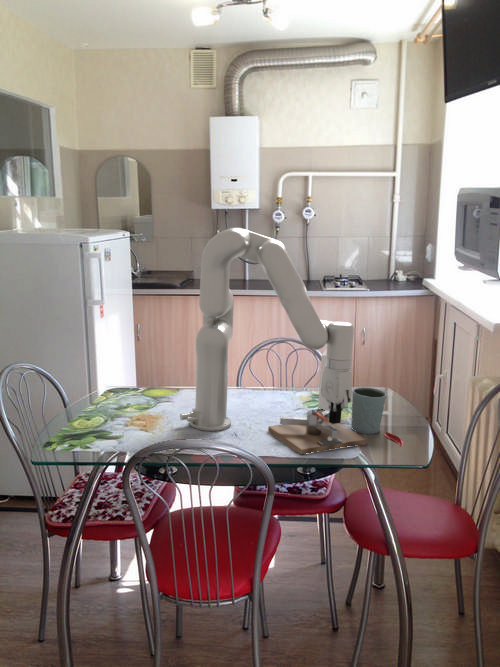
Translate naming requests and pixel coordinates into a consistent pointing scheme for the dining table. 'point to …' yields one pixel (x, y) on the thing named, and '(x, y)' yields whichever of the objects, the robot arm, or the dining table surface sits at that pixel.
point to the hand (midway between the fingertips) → (334, 422)
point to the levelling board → (314, 437)
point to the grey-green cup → (367, 409)
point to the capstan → (312, 423)
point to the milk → (322, 401)
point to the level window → (329, 442)
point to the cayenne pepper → (394, 438)
